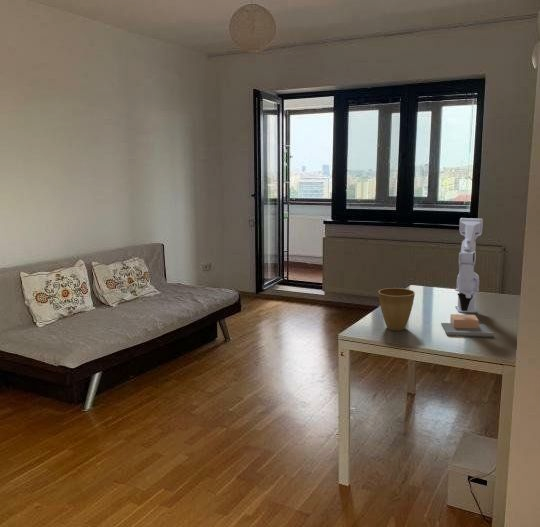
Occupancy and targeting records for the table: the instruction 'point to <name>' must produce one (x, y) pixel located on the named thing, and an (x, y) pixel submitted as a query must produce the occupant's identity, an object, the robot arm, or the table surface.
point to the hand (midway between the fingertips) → (464, 310)
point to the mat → (467, 331)
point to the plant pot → (396, 307)
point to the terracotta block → (464, 321)
